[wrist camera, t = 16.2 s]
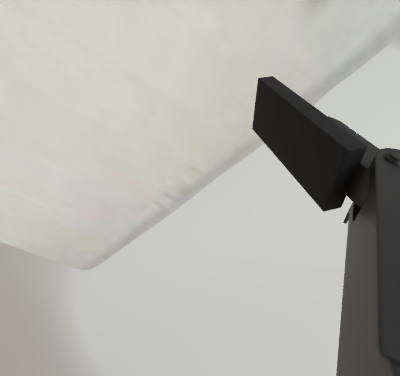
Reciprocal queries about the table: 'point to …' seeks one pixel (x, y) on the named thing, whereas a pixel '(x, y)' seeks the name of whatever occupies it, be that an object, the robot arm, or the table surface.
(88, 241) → the table surface
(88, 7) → the table surface
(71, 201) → the table surface
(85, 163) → the table surface
